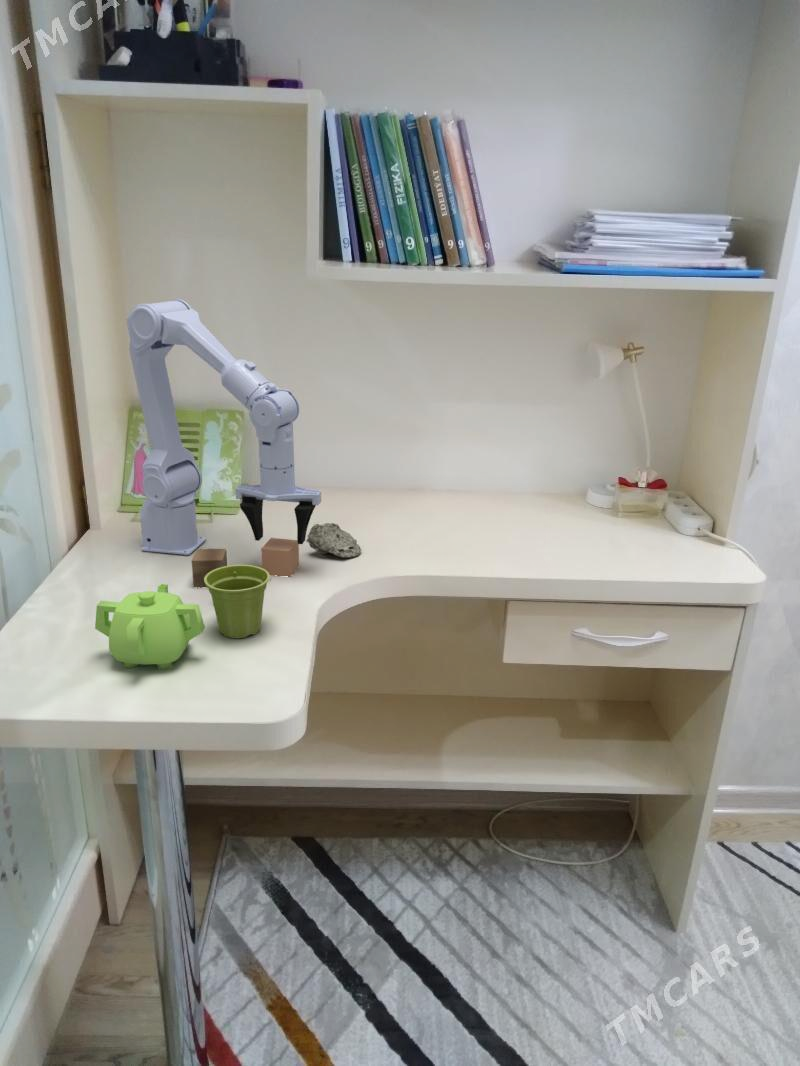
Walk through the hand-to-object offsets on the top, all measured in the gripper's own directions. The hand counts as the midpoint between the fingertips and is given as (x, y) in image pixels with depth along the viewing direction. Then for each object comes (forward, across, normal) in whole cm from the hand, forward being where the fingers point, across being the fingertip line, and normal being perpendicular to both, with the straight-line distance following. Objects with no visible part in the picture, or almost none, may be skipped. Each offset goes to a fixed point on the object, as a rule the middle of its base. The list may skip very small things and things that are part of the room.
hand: (280, 540), depth 142 cm
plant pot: (+6, +1, -22) cm, 23 cm away
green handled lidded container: (+6, -8, -32) cm, 34 cm away
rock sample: (+6, +8, +10) cm, 14 cm away
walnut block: (+6, -10, -7) cm, 14 cm away
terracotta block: (+6, 0, 0) cm, 6 cm away
